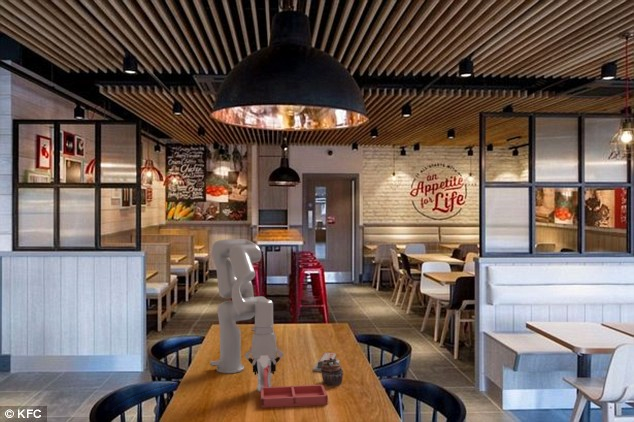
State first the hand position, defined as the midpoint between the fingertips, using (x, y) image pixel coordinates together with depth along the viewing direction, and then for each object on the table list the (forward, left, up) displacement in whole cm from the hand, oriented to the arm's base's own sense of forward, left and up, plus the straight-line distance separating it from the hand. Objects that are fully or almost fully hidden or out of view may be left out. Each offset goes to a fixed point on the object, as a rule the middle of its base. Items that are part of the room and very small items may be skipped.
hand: (264, 373), depth 215 cm
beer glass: (0, 0, -7) cm, 7 cm away
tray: (+11, -13, -7) cm, 18 cm away
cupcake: (+29, +5, -7) cm, 30 cm away
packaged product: (+30, +29, -7) cm, 42 cm away
